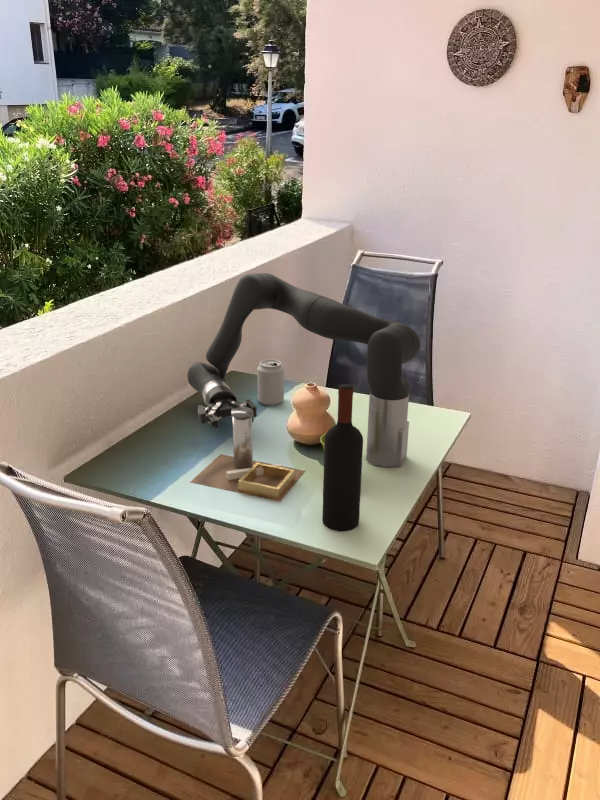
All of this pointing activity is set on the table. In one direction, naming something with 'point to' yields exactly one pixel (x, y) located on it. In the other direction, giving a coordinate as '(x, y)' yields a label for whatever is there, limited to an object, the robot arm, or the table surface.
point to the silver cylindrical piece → (242, 437)
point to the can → (270, 382)
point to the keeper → (267, 490)
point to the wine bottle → (342, 468)
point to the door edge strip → (241, 472)
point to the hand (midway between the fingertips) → (233, 422)
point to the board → (217, 478)
